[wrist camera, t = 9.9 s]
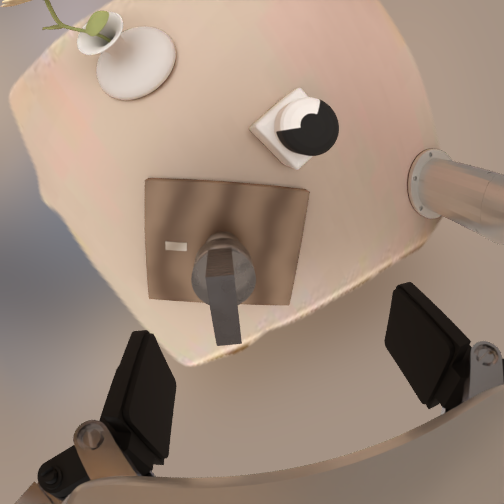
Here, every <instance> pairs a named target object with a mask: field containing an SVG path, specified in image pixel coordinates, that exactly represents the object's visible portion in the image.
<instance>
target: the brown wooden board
mask: <svg viewBox="0 0 504 504" xmlns="http://www.w3.org/2000/svg"><path fill="white" fill-rule="evenodd" d="M309 193H310V192H309V191H307V190H306V189H298V188H290V187H281V186H271V185H261V184H250V183H238V182H225V181H209V180H191V179H164V178H148V179H146V180H145V247H146V266H147V281H148V293H149V299H159V300H172V301H187V302H203V301H202V300H201V299H199V298H198V296H197V295H196V294H195V292H194V290H193V287H192V283H191V276H192V271H193V266H194V261H195V257H196V254H197V252H198V250H199V249H200V248H201V247H202V246H203V245H204V244H205V243H207V242H208V241H211V240H213V239H217V238H230V239H233V240H236V241H238V242H240V243H241V244H242V245H244V246H245V247H246V249H247V250H248V251H249V253H250V255H251V259H252V263H253V267H254V271H255V275H256V284H255V288H254V290H253V292H252V294H251V295H250V296H249V298H248V299H247V300H245V301H244V302H243V303H241V304H251V305H289V304H290V299H291V294H292V289H293V284H294V279H295V274H296V269H297V263H298V258H299V252H300V247H301V241H302V236H303V230H304V224H305V218H306V212H307V206H308V199H309Z"/></svg>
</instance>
